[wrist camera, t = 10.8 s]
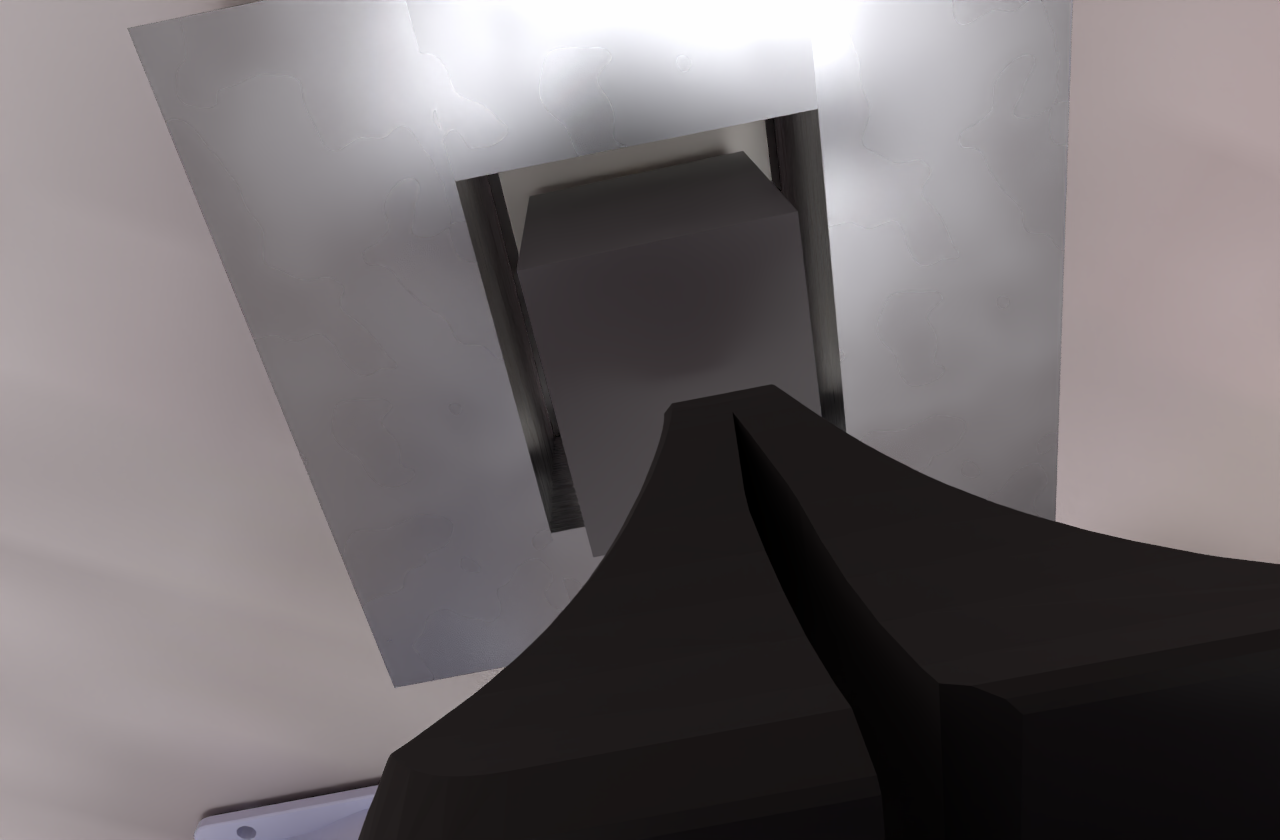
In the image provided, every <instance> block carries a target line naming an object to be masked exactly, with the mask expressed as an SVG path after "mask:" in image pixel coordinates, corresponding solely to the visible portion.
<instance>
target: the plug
mask: <svg viewBox="0 0 1280 840" xmlns="http://www.w3.org/2000/svg"><path fill="white" fill-rule="evenodd" d="M517 274H518V278H519V282H520V285H521V289H522V293H523V297H524V300H525V304H526V308H527V312H528V315H529V319H530V323H531V327H532V330H533V334H534V338H535V342H536V345H537V349H538V353H539V356H540V360H541V364H542V368H543V371H544V375H545V379H546V383H547V386H548V390H549V394H550V398H551V401H552V405H553V409H554V413H555V416H556V420H557V424H558V428H559V431H560V435H561V439H562V442H563V446H564V450H565V454H566V457H567V461H568V465H569V469H570V472H571V476H572V480H573V484H574V487H575V491H576V495H577V499H578V502H579V506H580V510H581V514H582V517H583V521H584V525H585V528H586V532H587V536H588V540H589V543H590V547H591V551H592V555H593V557H598V556H603V555H605V554H606V553H607V551H608V550H609V548H610V547H611V545H612V543H613V542H614V540H615V538H616V537H617V535H618V533H619V532H620V530H621V528H622V526H623V524H624V522H625V520H626V518H627V516H628V514H629V512H630V511H631V509H632V507H633V505H634V503H635V501H636V499H637V497H638V495H639V493H640V491H641V488H642V486H643V484H644V481H645V479H646V476H647V474H648V471H649V469H650V466H651V464H652V461H653V459H654V456H655V453H656V450H657V447H658V444H659V441H660V437H661V433H662V429H663V424H664V413H665V412H666V410H667V409H668V408H669V406H670V405H671V404H672V403H676V402H682V401H687V400H692V399H697V398H702V397H708V396H713V395H718V394H723V393H728V392H734V391H739V390H744V389H749V388H754V387H759V386H765V385H770V384H773V385H775V386H777V387H778V388H780V389H781V390H783V391H784V392H786V393H787V394H788V395H790V396H791V397H793V398H794V399H796V400H797V401H799V402H800V403H802V404H803V405H804V406H806V407H807V408H809V409H810V410H812V411H813V412H815V413H816V414H818V415H819V416H821V417H822V414H821V406H820V397H819V389H818V380H817V371H816V363H815V354H814V346H813V337H812V328H811V320H810V311H809V303H808V294H807V285H806V277H805V268H804V259H803V251H802V242H801V234H800V225H799V216H798V211H797V210H796V209H795V208H794V206H793V205H792V204H791V203H790V202H789V201H788V200H787V199H786V198H785V196H784V195H783V194H782V193H781V192H780V191H779V190H778V189H777V188H776V186H775V185H774V184H773V183H772V182H771V181H770V180H769V179H768V178H767V177H766V175H765V174H764V173H763V172H762V171H761V170H760V169H759V168H758V167H757V165H756V164H755V163H754V162H753V161H752V160H751V159H750V158H749V157H748V155H747V154H746V153H745V152H744V151H740V152H735V153H730V154H726V155H721V156H716V157H712V158H707V159H702V160H698V161H693V162H688V163H684V164H679V165H674V166H669V167H665V168H660V169H655V170H651V171H646V172H641V173H637V174H632V175H627V176H623V177H618V178H613V179H608V180H604V181H599V182H594V183H590V184H585V185H580V186H576V187H571V188H566V189H561V190H557V191H552V192H547V193H543V194H538V195H533V196H529V202H528V207H527V213H526V219H525V225H524V230H523V236H522V242H521V248H520V254H519V259H518V265H517Z"/></svg>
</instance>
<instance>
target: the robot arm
mask: <svg viewBox="0 0 1280 840" xmlns="http://www.w3.org/2000/svg"><path fill="white" fill-rule="evenodd" d="M248 826H249V827H248ZM194 839H195V840H1280V564H1272V563H1264V562H1256V561H1248V560H1240V559H1231V558H1223V557H1216V556H1210V555H1204V554H1198V553H1193V552H1188V551H1183V550H1177V549H1172V548H1167V547H1162V546H1156V545H1151V544H1146V543H1141V542H1135V541H1131V540H1126V539H1122V538H1118V537H1113V536H1109V535H1105V534H1100V533H1096V532H1092V531H1088V530H1084V529H1080V528H1077V527H1073V526H1070V525H1066V524H1063V523H1059V522H1055V521H1052V520H1048V519H1045V518H1041V517H1038V516H1034V515H1031V514H1027V513H1024V512H1021V511H1018V510H1015V509H1012V508H1009V507H1006V506H1003V505H1000V504H997V503H994V502H991V501H989V500H986V499H984V498H981V497H979V496H976V495H973V494H971V493H968V492H966V491H963V490H961V489H958V488H955V487H953V486H950V485H948V484H945V483H943V482H941V481H938V480H936V479H934V478H932V477H929V476H927V475H925V474H923V473H921V472H919V471H917V470H915V469H913V468H911V467H909V466H907V465H905V464H903V463H901V462H899V461H897V460H895V459H893V458H891V457H889V456H887V455H885V454H883V453H881V452H879V451H877V450H876V449H874V448H872V447H870V446H868V445H867V444H865V443H863V442H861V441H860V440H858V439H856V438H855V437H853V436H851V435H850V434H848V433H846V432H845V431H843V430H841V429H840V428H838V427H836V426H835V425H833V424H832V423H830V422H829V421H827V420H826V419H824V418H822V417H821V416H819V415H818V414H816V413H815V412H813V411H812V410H810V409H809V408H807V407H806V406H804V405H803V404H802V403H800V402H799V401H797V400H796V399H794V398H793V397H791V396H790V395H788V394H787V393H786V392H784V391H783V390H781V389H780V388H778V387H777V386H775V385H773V384H770V385H765V386H759V387H754V388H749V389H744V390H739V391H734V392H728V393H723V394H718V395H713V396H708V397H702V398H697V399H692V400H687V401H682V402H676V403H672V404H671V405H670V406H669V408H668V409H667V410H666V412H665V413H664V424H663V429H662V433H661V437H660V441H659V444H658V447H657V450H656V453H655V456H654V459H653V461H652V464H651V466H650V469H649V471H648V474H647V476H646V479H645V481H644V484H643V486H642V488H641V491H640V493H639V495H638V497H637V499H636V501H635V503H634V505H633V507H632V509H631V511H630V512H629V514H628V516H627V518H626V520H625V522H624V524H623V526H622V528H621V530H620V532H619V533H618V535H617V537H616V538H615V540H614V542H613V543H612V545H611V547H610V548H609V550H608V551H607V553H606V554H605V556H604V557H603V559H602V561H601V562H600V563H599V565H598V566H597V568H596V569H595V570H594V572H593V573H592V575H591V576H590V578H589V579H588V580H587V582H586V583H585V584H584V586H583V587H582V588H581V589H580V591H579V592H578V593H577V594H576V596H575V597H574V598H573V599H572V601H571V602H570V603H569V604H568V605H567V606H566V607H565V609H564V610H563V611H562V612H561V613H560V614H559V615H558V617H557V618H556V619H555V620H554V621H553V622H552V623H551V625H550V626H549V627H548V628H547V629H546V630H545V631H544V632H543V633H542V634H541V635H540V636H539V637H538V638H537V639H536V640H535V641H534V642H533V643H532V644H531V645H530V646H529V647H527V648H526V649H525V650H524V651H523V652H522V653H521V654H520V655H519V656H518V657H517V658H516V659H515V660H514V661H512V662H511V663H510V664H509V665H508V666H507V667H506V668H504V669H503V670H502V671H501V672H500V673H499V674H498V675H496V676H495V677H494V678H493V679H492V680H491V681H490V682H488V683H487V684H486V685H485V686H483V687H482V688H481V689H480V690H478V691H477V692H476V693H475V694H474V695H472V696H471V697H470V698H468V699H467V700H466V701H464V702H463V703H462V704H460V705H459V706H458V707H456V708H455V709H453V710H452V711H451V712H449V713H448V714H447V715H445V716H444V717H443V718H441V719H440V720H438V721H437V722H436V723H434V724H433V725H432V726H430V727H429V728H428V729H426V730H425V731H423V732H422V733H421V734H419V735H418V736H417V737H415V738H414V739H412V740H411V741H410V742H408V743H407V744H405V745H404V746H402V747H401V748H399V749H398V750H396V751H395V752H393V753H392V754H391V755H390V757H389V758H388V761H387V763H386V766H385V769H384V771H383V774H382V777H381V780H380V782H379V785H376V786H370V787H365V788H360V789H354V790H349V791H343V792H338V793H333V794H327V795H322V796H317V797H311V798H306V799H300V800H295V801H290V802H284V803H279V804H273V805H268V806H263V807H257V808H252V809H247V810H241V811H236V812H230V813H225V814H220V815H214V816H209V817H206V818H203V819H202V820H201V821H200V822H199V823H198V826H197V828H196V830H195V833H194Z"/></svg>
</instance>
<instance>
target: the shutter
mask: <svg viewBox="0 0 1280 840" xmlns="http://www.w3.org/2000/svg"><path fill="white" fill-rule="evenodd" d="M740 151H744V152H745V153H746V154H747V155H748V157H749V158H750V159H751V160H752V161H753V162H754V163H755V164H756V165H757V167H758V168H759V169H760V170H761V171H762V172H763V173H764V174H765V175H766V177H767V178H768V179H769V180H770V181H771V182H772V178H771V169H770V161H769V152H768V143H767V134H766V125H765V119H764V120H759V121H754V122H749V123H744V124H739V125H734V126H729V127H724V128H719V129H714V130H709V131H704V132H699V133H694V134H689V135H684V136H679V137H674V138H669V139H664V140H659V141H654V142H649V143H644V144H639V145H634V146H629V147H624V148H619V149H614V150H609V151H604V152H599V153H594V154H589V155H584V156H579V157H574V158H569V159H564V160H559V161H554V162H549V163H544V164H539V165H534V166H529V167H524V168H519V169H514V170H509V171H504V172H499V173H498V175H499V179H500V183H501V187H502V191H503V195H504V199H505V203H506V207H507V211H508V215H509V219H510V223H511V227H512V231H513V235H514V239H515V243H516V247H517V251H518V255H519V254H520V248H521V242H522V236H523V230H524V225H525V219H526V213H527V207H528V202H529V196H533V195H538V194H543V193H547V192H552V191H557V190H561V189H566V188H571V187H576V186H580V185H585V184H590V183H594V182H599V181H604V180H608V179H613V178H618V177H623V176H627V175H632V174H637V173H641V172H646V171H651V170H655V169H660V168H665V167H669V166H674V165H679V164H684V163H688V162H693V161H698V160H702V159H707V158H712V157H716V156H721V155H726V154H730V153H735V152H740Z"/></svg>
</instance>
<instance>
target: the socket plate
mask: <svg viewBox="0 0 1280 840" xmlns="http://www.w3.org/2000/svg"><path fill="white" fill-rule="evenodd" d="M1072 7H1073V0H263V1H258V2H253V3H249V4H244V5H239V6H234V7H229V8H224V9H219V10H214V11H209V12H205V13H200V14H195V15H190V16H185V17H180V18H175V19H170V20H166V21H161V22H156V23H151V24H146V25H141V26H136V27H131V28H127V29H128V31H129V34H130V36H131V38H132V41H133V43H134V46H135V48H136V51H137V53H138V56H139V58H140V61H141V63H142V66H143V68H144V71H145V73H146V75H147V78H148V80H149V83H150V85H151V88H152V90H153V93H154V95H155V98H156V100H157V103H158V105H159V108H160V110H161V112H162V115H163V117H164V120H165V122H166V125H167V127H168V130H169V132H170V135H171V137H172V140H173V142H174V145H175V147H176V150H177V152H178V154H179V157H180V159H181V162H182V164H183V167H184V169H185V172H186V174H187V177H188V179H189V182H190V184H191V187H192V189H193V191H194V194H195V196H196V199H197V201H198V204H199V206H200V209H201V211H202V214H203V216H204V219H205V221H206V224H207V226H208V228H209V231H210V233H211V236H212V238H213V241H214V243H215V246H216V248H217V251H218V253H219V256H220V258H221V261H222V263H223V265H224V268H225V270H226V273H227V275H228V278H229V280H230V283H231V285H232V288H233V290H234V293H235V295H236V298H237V300H238V302H239V305H240V307H241V310H242V312H243V315H244V317H245V320H246V322H247V325H248V327H249V330H250V332H251V335H252V337H253V339H254V342H255V344H256V347H257V349H258V352H259V354H260V357H261V359H262V362H263V364H264V367H265V369H266V372H267V374H268V376H269V379H270V381H271V384H272V386H273V389H274V391H275V394H276V396H277V399H278V401H279V404H280V406H281V409H282V411H283V413H284V416H285V418H286V421H287V423H288V426H289V428H290V431H291V433H292V436H293V438H294V441H295V443H296V446H297V448H298V450H299V453H300V455H301V458H302V460H303V463H304V465H305V468H306V470H307V473H308V475H309V478H310V480H311V483H312V485H313V487H314V490H315V492H316V495H317V497H318V500H319V502H320V505H321V507H322V510H323V512H324V515H325V517H326V520H327V522H328V524H329V527H330V529H331V532H332V534H333V537H334V539H335V542H336V544H337V547H338V549H339V552H340V554H341V557H342V559H343V562H344V564H345V566H346V569H347V571H348V574H349V576H350V579H351V581H352V584H353V586H354V589H355V591H356V594H357V596H358V599H359V601H360V603H361V606H362V608H363V611H364V613H365V616H366V618H367V621H368V623H369V626H370V628H371V631H372V633H373V636H374V638H375V640H376V643H377V645H378V648H379V650H380V653H381V655H382V658H383V660H384V663H385V665H386V668H387V670H388V673H389V675H390V677H391V680H392V682H393V685H394V687H395V688H396V687H401V686H406V685H412V684H417V683H422V682H427V681H433V680H438V679H443V678H449V677H454V676H459V675H465V674H470V673H475V672H481V671H486V670H491V669H497V668H502V667H507V666H508V665H509V664H510V663H511V662H512V661H514V660H515V659H516V658H517V657H518V656H519V655H520V654H521V653H522V652H523V651H524V650H525V649H526V648H527V647H529V646H530V645H531V644H532V643H533V642H534V641H535V640H536V639H537V638H538V637H539V636H540V635H541V634H542V633H543V632H544V631H545V630H546V629H547V628H548V627H549V626H550V625H551V623H552V622H553V621H554V620H555V619H556V618H557V617H558V615H559V614H560V613H561V612H562V611H563V610H564V609H565V607H566V606H567V605H568V604H569V603H570V602H571V601H572V599H573V598H574V597H575V596H576V594H577V593H578V592H579V591H580V589H581V588H582V587H583V586H584V584H585V583H586V582H587V580H588V579H589V578H590V576H591V575H592V573H593V572H594V570H595V569H596V568H597V566H598V565H599V563H600V562H601V561H602V559H603V557H604V556H605V555H603V556H598V557H593V555H592V551H591V547H590V543H589V540H588V536H587V532H586V528H585V525H584V521H583V517H582V514H581V510H580V506H579V502H578V499H577V495H576V491H575V487H574V484H573V480H572V476H571V472H570V469H569V465H568V461H567V457H566V454H565V450H564V446H563V442H562V439H561V436H559V437H554V435H553V431H552V427H551V423H550V419H549V415H548V411H547V408H546V404H545V400H544V396H543V392H542V388H541V384H540V380H539V376H538V372H537V368H536V365H535V361H534V357H533V353H532V349H531V345H530V341H529V337H528V333H527V329H526V325H525V321H524V318H523V314H522V310H521V306H520V302H519V298H518V294H517V290H516V286H515V282H514V278H513V275H512V271H511V267H510V263H509V259H508V255H507V251H506V247H505V243H504V239H503V235H502V232H501V228H500V224H499V220H498V216H497V212H496V208H495V204H494V200H493V196H492V192H491V189H490V185H489V181H488V177H487V175H489V174H494V173H499V172H504V171H509V170H514V169H519V168H524V167H529V166H534V165H539V164H544V163H549V162H554V161H559V160H564V159H569V158H574V157H579V156H584V155H589V154H594V153H599V152H604V151H609V150H614V149H619V148H624V147H629V146H634V145H639V144H644V143H649V142H654V141H659V140H664V139H669V138H674V137H679V136H684V135H689V134H694V133H699V132H704V131H709V130H714V129H719V128H724V127H729V126H734V125H739V124H744V123H749V122H754V121H759V120H764V119H769V118H774V128H775V137H776V146H777V155H778V164H779V173H780V182H781V191H782V194H783V195H784V196H785V198H786V199H787V200H788V201H789V202H790V203H791V204H792V205H793V206H794V208H795V209H796V210H797V211H798V216H799V225H800V234H801V242H802V251H803V259H804V268H805V277H806V285H807V294H808V303H809V311H810V320H811V328H812V337H813V346H814V354H815V363H816V371H817V380H818V389H819V397H820V406H821V414H822V418H824V419H826V420H827V421H829V422H830V423H832V424H833V425H835V426H836V427H838V428H840V429H841V430H843V431H845V432H846V433H848V434H850V435H851V436H853V437H855V438H856V439H858V440H860V441H861V442H863V443H865V444H867V445H868V446H870V447H872V448H874V449H876V450H877V451H879V452H881V453H883V454H885V455H887V456H889V457H891V458H893V459H895V460H897V461H899V462H901V463H903V464H905V465H907V466H909V467H911V468H913V469H915V470H917V471H919V472H921V473H923V474H925V475H927V476H929V477H932V478H934V479H936V480H938V481H941V482H943V483H945V484H948V485H950V486H953V487H955V488H958V489H961V490H963V491H966V492H968V493H971V494H973V495H976V496H979V497H981V498H984V499H986V500H989V501H991V502H994V503H997V504H1000V505H1003V506H1006V507H1009V508H1012V509H1015V510H1018V511H1021V512H1024V513H1027V514H1031V515H1034V516H1038V517H1041V518H1045V519H1048V520H1052V521H1055V515H1056V485H1057V455H1058V426H1059V396H1060V366H1061V336H1062V306H1063V276H1064V246H1065V216H1066V186H1067V156H1068V126H1069V96H1070V67H1071V37H1072Z"/></svg>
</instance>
